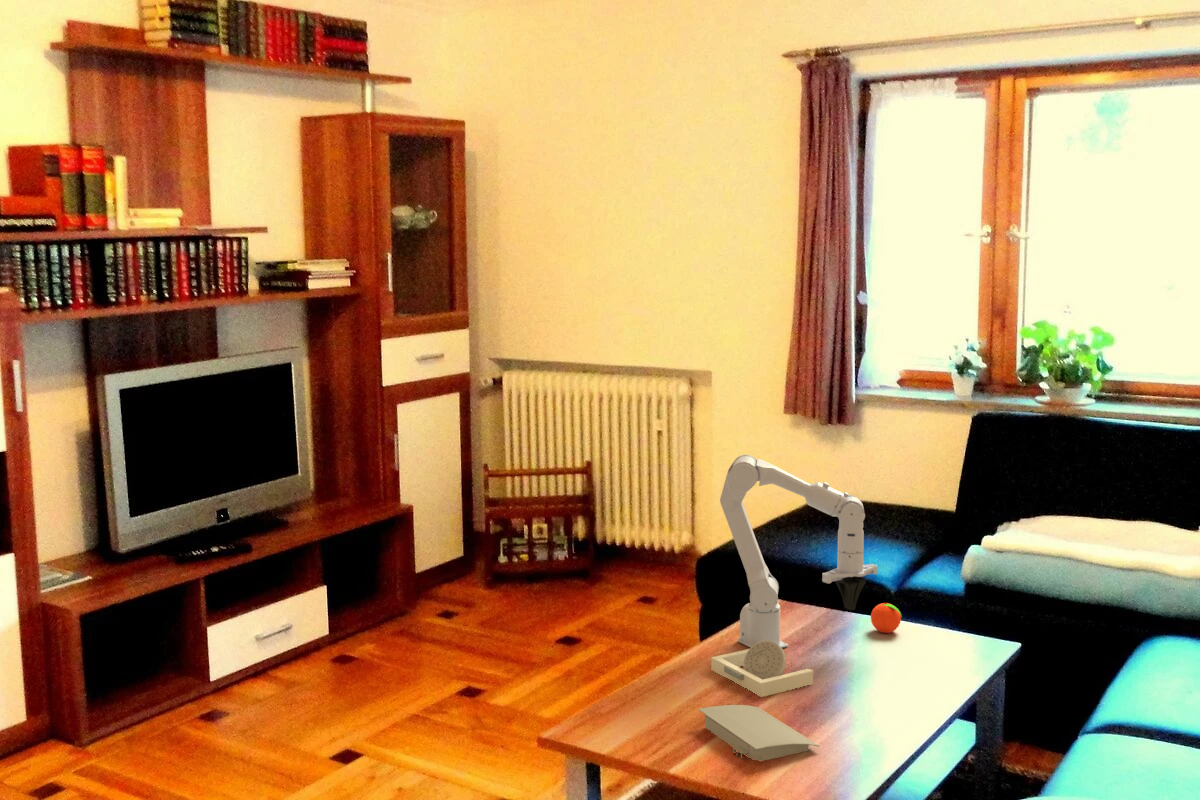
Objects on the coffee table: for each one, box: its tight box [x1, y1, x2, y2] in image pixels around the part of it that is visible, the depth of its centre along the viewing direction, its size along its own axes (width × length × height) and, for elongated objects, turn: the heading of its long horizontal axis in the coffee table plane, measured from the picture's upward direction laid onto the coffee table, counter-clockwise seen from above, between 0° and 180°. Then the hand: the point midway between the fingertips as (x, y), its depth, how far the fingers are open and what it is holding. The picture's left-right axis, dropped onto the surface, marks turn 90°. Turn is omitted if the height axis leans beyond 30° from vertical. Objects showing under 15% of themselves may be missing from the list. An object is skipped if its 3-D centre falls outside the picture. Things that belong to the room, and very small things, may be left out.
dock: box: [710, 648, 814, 698], centre depth 262 cm, size 18×14×3 cm
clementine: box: [870, 602, 903, 634], centre depth 289 cm, size 8×7×7 cm
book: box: [698, 704, 820, 762], centre depth 231 cm, size 15×23×4 cm, turn 26°
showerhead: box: [742, 640, 787, 680], centre depth 260 cm, size 9×7×10 cm
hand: (849, 608), depth 278 cm, fingers closed
